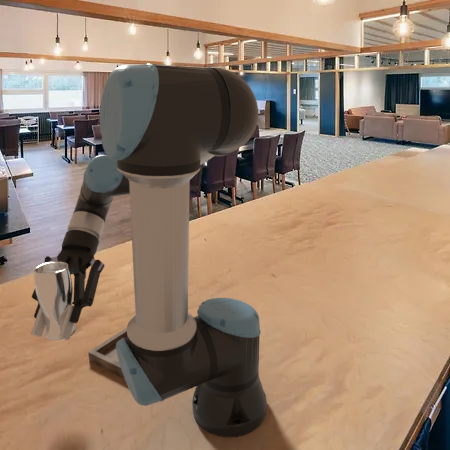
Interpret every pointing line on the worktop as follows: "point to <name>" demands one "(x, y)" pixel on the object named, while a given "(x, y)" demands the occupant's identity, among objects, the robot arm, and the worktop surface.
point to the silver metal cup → (54, 295)
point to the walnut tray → (108, 354)
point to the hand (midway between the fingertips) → (50, 336)
